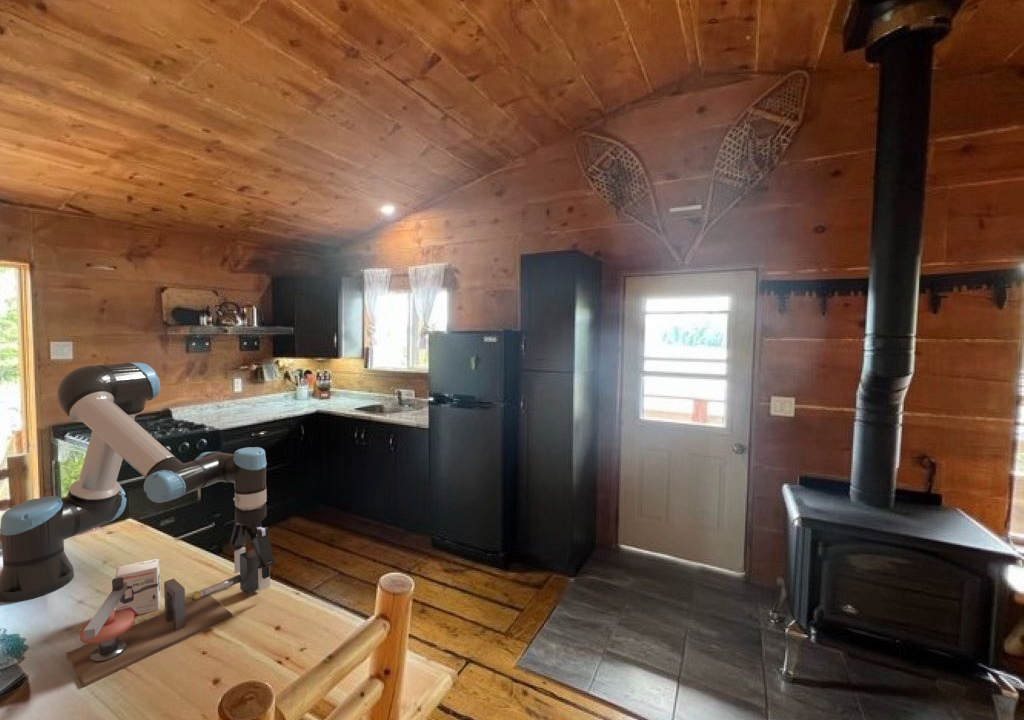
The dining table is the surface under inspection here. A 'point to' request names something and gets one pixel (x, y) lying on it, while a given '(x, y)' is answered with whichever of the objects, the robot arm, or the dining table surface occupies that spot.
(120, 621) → the handwheel
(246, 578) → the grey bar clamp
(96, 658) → the axle post
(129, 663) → the board
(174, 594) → the eye
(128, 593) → the ink box
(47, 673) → the dining table surface
